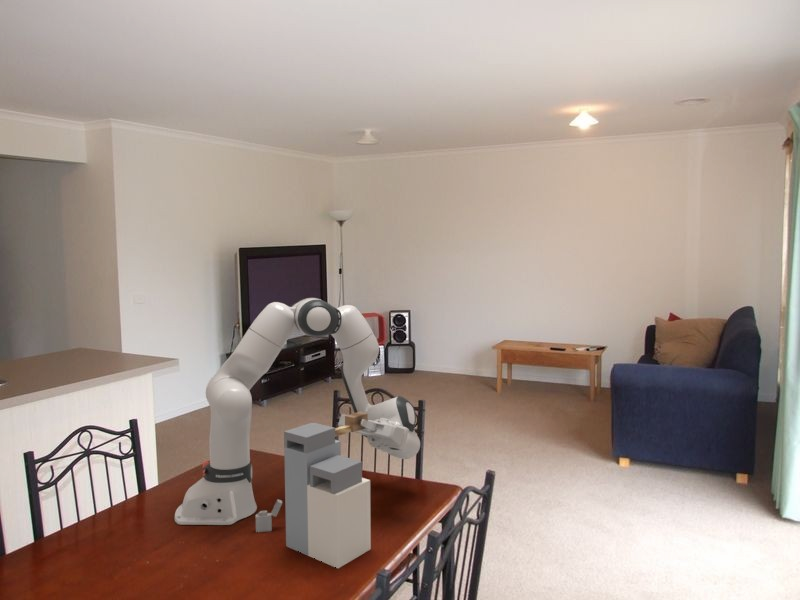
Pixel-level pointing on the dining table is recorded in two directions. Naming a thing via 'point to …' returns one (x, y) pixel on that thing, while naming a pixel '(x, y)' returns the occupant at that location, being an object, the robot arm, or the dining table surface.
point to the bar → (351, 423)
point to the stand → (324, 497)
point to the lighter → (267, 518)
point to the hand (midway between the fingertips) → (354, 420)
